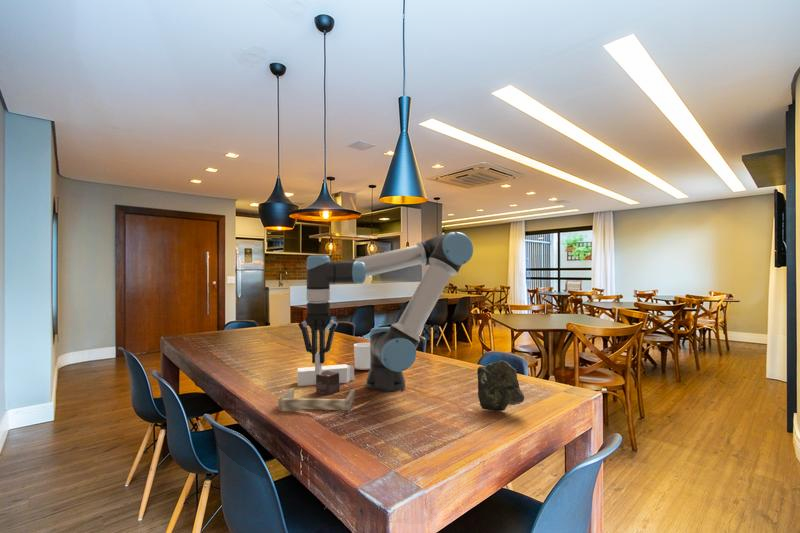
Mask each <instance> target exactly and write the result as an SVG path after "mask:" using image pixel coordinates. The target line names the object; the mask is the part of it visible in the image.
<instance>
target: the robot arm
mask: <svg viewBox="0 0 800 533" xmlns="http://www.w3.org/2000/svg"><path fill="white" fill-rule="evenodd" d="M473 254H474V246H473V243H472V240H471V239H470V237H469V236H467V235H466V234H465V233H464V232H461V231H460V232H459V231H451V232H449V233H444V234H439V235H436V236H434V237H431V238H428V239H425V240H423V241H422V240H421V241H418V242H417V243H416V244H415V245H411V246H408V247H403V248H399V249H393V250H389V251H384V252H381V253H375V254H372V255H365V256H361V257H357V258H353V259H348V260H344V261H341V260H340V261H338V260H337V261H332V260H331V257H330V256H329V255H325V254H324V255H319V254H318V255H317V254H316V255H315V254H314V255H308V257H307V258H306V271H305V272H306V301H307V303H306V315H305V319H304V320H303V321H302V322H300V323H298V327H299V329H300V330H301V334H302V338H303V342H304V346H305V351H306V352H307V353H311V363H312V364H314V367H315V374H320V373H321V372H322V366H323V364H324V363H325V361H326V360H325V357H326V356H325V354H326V353H328V352H329V351H331V347H332V344H333V340H334V339H333V338H334V335H335V331H336V328H337V327H338V325H339V323H338V322H337V321H334V320H332V317H331V311H330V310H331V306H330V305H331V303H330V302H329V301H330V300H331V291H330V288H331V287H330V285H331V284H347V285H348V284H354V285H355V284H356V285H357V284H363V283H364V282H365V281H366V278H367V277H370V276H375V275H379V274H380V275H381V274H383V273H388V272H392V271H397V270H401V269H402V270H403V269H405V268H408V267H409V268H410V267H414V266H418V265H420V266H421V267H424V266H428V268H427V269H426V271H425V274H424V275H423V277H422V278H421V280H420V282H419V284H418V286H417V287H416V288H415V291H414V293H413V295H412V296H411V298H410V300H409V302H407V305H406V307H405V309H404V310H403V312H402V314H401V316H400V317H399V319H398V321H397V322H395V323H393V324H391V325H390V326H382V327H373V328H371V329H370V333H369V343H370V369H368V370H369V371H368V373H367V377H366V380H365V387H366V388H367V389H368V390H371V391H376V392H388V393H391V392H392V393H393V392H397V391H403V390H404V389H406V379H405V376H404V372H405V371H406V370H408V369H409V368H411V367H412V366H413V365H414V363H415V361H416V359H417V348H418V346H419V344H420V343H421V340H420V333H421V331H422V329H423V328H424V326H425V324H426V323H427V320H428V318H429V317H430V315H431V313H432V312H433V310H434V307H436V304H437V302H438V300H440V299H439V298H440V297H441V295H442V293H443V291H444V289H445V287H446V286H447V284H448V282H449V281H450V279H451V277H452V276H457V275H458V273H459V272H460V270H461V267H462V266H463V265H465V264H467V263H469V261H470V260H471V259H472V257H473ZM328 326H329V328H330V329H329V331H328V335H327V340H326V329H327V327H328ZM308 327H309V328H310V330H311V331H310V333H311V339H310V335H309V334H310V333H309V330H308ZM318 333H319V336H318ZM318 337H319V340H318ZM318 343H319V347H318ZM318 349H319V350H318Z"/></svg>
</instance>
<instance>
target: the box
mask: <svg viewBox="0 0 800 533" xmlns="http://www.w3.org/2000/svg"><path fill="white" fill-rule="evenodd" d="M315 388H316V390H315V392H316V394H321V395H324V396H331V395H333V394H336V393H338V392H340V383H339V373H338V372H332V371H325V372H322V373H320V374H316V385H315Z"/></svg>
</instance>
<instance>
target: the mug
mask: <svg viewBox="0 0 800 533" xmlns="http://www.w3.org/2000/svg"><path fill="white" fill-rule="evenodd" d="M353 356H354V369H356V370H361V371H362V370H363V371H365V370H370V342H357V343H354V344H353Z"/></svg>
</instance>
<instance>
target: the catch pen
mask: <svg viewBox="0 0 800 533" xmlns="http://www.w3.org/2000/svg"><path fill="white" fill-rule="evenodd" d="M355 400H356V388H352V389H351V390H350V391H349V393H348V394H347V396H346V398H295V387H290V388H289V389H288V390H287V391H286V392H285V393H284V394H282V396H281V397H279V398H278V404H277V405H278V411H279V412H298V413H299V412H301V413H303V412H305V413H311V411H310V410H324V411H325V410H330V411H341V414H349V413H350V412H351V410H352V408H351V407H352V405H353V403H354V401H355Z"/></svg>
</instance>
